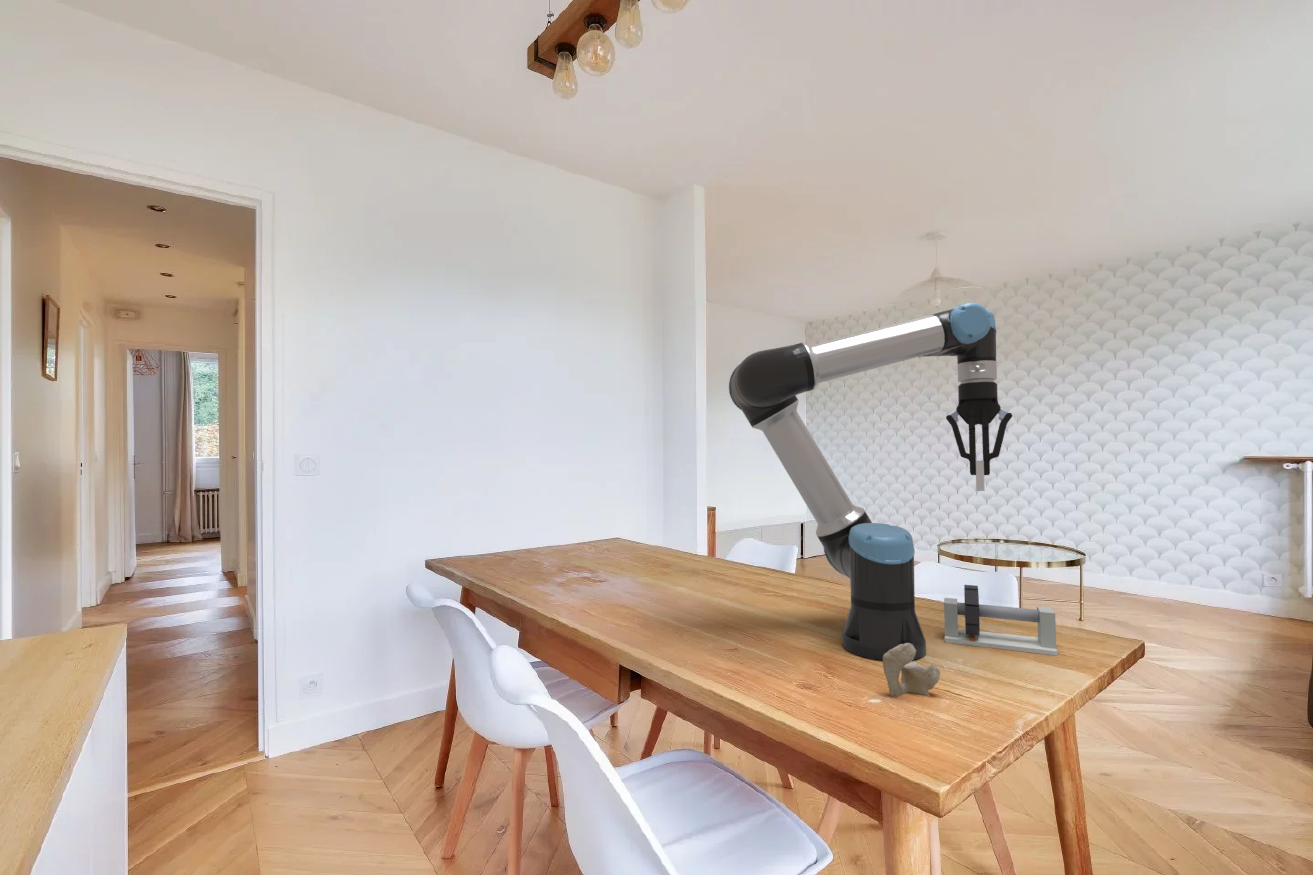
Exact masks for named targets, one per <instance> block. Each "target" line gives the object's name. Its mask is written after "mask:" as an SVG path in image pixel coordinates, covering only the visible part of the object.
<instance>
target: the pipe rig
mask: <svg viewBox="0 0 1313 875" xmlns="http://www.w3.org/2000/svg"><path fill="white" fill-rule="evenodd" d="M943 614H944V615H943V616H944V617H943V620H944V643H948V644H956V645H957V644H958V645H966V646H974V647H982V648H991V649H997V650H998V649H999V650H1006V651H1007V650H1008V651H1015V652H1024V653H1025V652H1026V653H1031V654H1032V653H1034V654H1040V655H1049V656H1059V654H1058V653H1059V652H1058V649H1057V630H1056V627H1057V626H1056V622H1057V621H1056V612H1055V611H1054V609H1053V607H1052V606H1043V605H1042V606H1040V605H1037V606H1036V609H1035V608H1024V607H1015V606H1014V607H1012V606H1001V605H989V604H980V603H979V618H991V619H999V620H1008V621H1019V622H1030V623H1037V637H1035V636H1029V635H1027V636H1026V635H1018V634H1009V633H999V632H998V633H997V632H991V631H981V630H980V634H979V636H977V635H969V634H966V629H964V628H959V619H958V615H960V616H965V602H958V598H951V597H944V598H943Z"/></svg>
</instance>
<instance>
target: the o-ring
mask: <svg viewBox="0 0 1313 875" xmlns="http://www.w3.org/2000/svg"><path fill="white" fill-rule="evenodd" d="M963 587H964V589H963V592H964V596H963V597H964V603H965V615H964V624H965V629H964V630H966V634H969V635H977V636H979V634H980V631H981V630H980V624H981V623H980V622H981V621H980V617H979V604H980V599H979V597H980V596H979V595H980V594H979V586H978V585H971V584H964V585H963Z"/></svg>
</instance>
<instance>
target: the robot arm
mask: <svg viewBox="0 0 1313 875" xmlns="http://www.w3.org/2000/svg"><path fill="white" fill-rule="evenodd" d="M921 357H923V358H924V357H957V358H956V359H957V360H956V361H957V382H958V383H960V384H959V385H958V386H957V388H958V389H957V390H958V395H957V396H958V405H957V407H956V410H955V411H954V412H952V413H951V414H948V415H946V416H945V418H946V420H947V422H948V423H949V425H950V426H951V428H952V431H953V432H952V433H953V435H954V438H955V442H956V446H957V448H958V451H959V452H958V453H959V455H960V457H961V458H963V459H966V460H968V461H969V473H970V475H971V476H975V485H976V486H975V488H976V492H985V476H990V474H991V460H993V459H996V458H998V457H1000V453H1001V450H1002V447H1003V446H1002V445H1003V441H1004V438H1005V432H1006V429H1007V425H1008V423H1009V422H1010V420H1011V419H1012V418H1013V414H1012V413H1011V412H1007V411H1005V410H1003V409H1001V408H1002V407H1001V405H1000V403H999V399H998V398H999V397H998V383H997V382H996V380H997V379H998V369H997V366H998V365H997V328H996V319H995V314H994V313H993V312H992V311H991V310H988V309H987V308H986V307H985V306H983V305H982V304H980V303H977V302H967V303H966V302H965V303H963V304H958V305H957V306H955V307H954V308H951V309H947V310H944V311H940V312H937V313H932V314H928V315H924V316H921V317H917V318H913V319H908V320H905V321H901V322H897V323H894V324H890V325H886V326H882V327H878V328H874V329H870V330H867V331H862V332H858V333H855V334H850V335H847V336H842V337H840V338H839V337H838V338H835V339H832V340H827V341H824V342H820V343H816V344H813V345H807V344H806V343H804V342H800V343H796V344H795V343H794V344H791V345H785V346H781V347H776V348H770V349H765V350H759V351H756V352H754V353H753V352H752V353H751V354H749V355H748V356H747V357H746V358H744V359H743V360H742V361H741V363H739V364H738V365H737V366H736V367H735V368H734V370H733V371H732V372H731V375H730V378H729V381H728V393H729V396H730V399H731V400H732V403H733V404H734V406H736V408H738V409H739V410H740V411H741V412H742V413H743V415H744V417H745V418H746V420H747V421H748V423H749V424H750V426H751V428H752V429H756V430H759V431H761V432H763V434H764V437H765V438H766V440H767V441H768V442H769V444H770V446H771V448H772V449H773V451H774V454H776V456H777V458H778V459H779V461H780V463H781V465H782V466H783V468H784V470H785V472H786V473H787V475H788V477H789V478H790V479H791V481H792V483H793V485H794V486H795V488H796V489H797V491H798V493H799V495H800V496H801V499H802V500H803V502H804V504H806V507H807V508H808V510H809V512H810V513H811V515H812V516H813V518H814V520H815V522H816V523H817V526H816V530H815V536H816V537H817V539H818V540H819V542H820V543H821V545H822V547H823V552H824V555H825V558H826V560H827V561H828V563H829V565H830V566H831V567H832V568H833V569H834V570H835V571H836V572H838V573H840V574H841V575H843V576H845V577H846V578H849V579H850V580H849V581H850V584H849V585H850V608H849V611H848V613H847V618H846V621H845V623H844V626H843V630H842V634H841V638H842V639H841V640H842V647H843V648H844V649H845V650H846V651H848V652H850V653H852V654H855V655H858V656H861V657H864V658H867V659H868V658H869V659H872V660H880V661H883V656H884V654H885V653H887V652H888V651H889V650H891V649H892V648H894V647H896V646H898V645H900V644H903V645H904V644H905V643H910V644H912V645H913V646H914V648H915V649H916V655H915V657H914V659H913V661H914V660H918V659H922V658H923V657H925V655H927V641H926V638H925V635H924V633H923V630H922V627H921V624H920V620H919V618H918V616H917V613H916V606H915V604H916V602H915V601H916V600H915V598H916V597H915V596H916V595H915V593H916V592H915V553H916V552H915V547H914V539H913V536H912V534H911V533H910V531H909V530H907V529H906V528H903V527H901V526H898V525H892V524H888V523H879V522H872V520H871V519H870V516H869V515H868V513H867V512H866V510H865V509H864V508H863V507H860V506H857V505H854V504H853V502H852V500H851V499H850V497H849V496H848V494H847V492H846V491H845V489H844V488H843V486H842V484H841V483H840V481H839V479H838V478H837V476H836V474H835V473H834V471H833V469H832V467H831V466H830V465H829V463H828V461H827V459H826V458H825V456H824V454H823V453H822V451H821V449H820V448H819V446H818V444H817V442H816V441H815V438H814V437H813V436H812V434H811V432H810V430H809V429H808V428H807V426H806V424H805V422H804V421H803V419H802V417H801V416H800V414H799V413H798V405H799V402H800V401H799V399H798V397H797V395H800V394H803V393H806V392H810V391H813V390H815V389H816V387H817V385H818V384H820V383H823V382H828V381H831V380H832V381H833V380H836V379H839V378H840V379H841V378H843V377H847V376H850V375H854V374H855V375H856V374H859V373H863V372H866V371H869V370H874V369H879V368H881V367H885V366H889V365H892V364H897V363H900V362H905V361H908V360H912V359H915V358H916V359H917V358H921ZM997 415H998V420H999V421H1000V422H999V425H998V430H997V433H996V437H995V442H994V444H993V450H992V452H991V453H990V430H989V429H990V424H991V423H992V422H993V421H994V419H995V418H996V416H997ZM958 416H959V417H960V418H961V419H962V421H964V422H965V423H966V424H967V425H968V449H969V450H968V451H969V453H968V452H966V448H965V445H964V442H963V441H964V440H963V439H962V435H961V432H960V428H959V426H958V423H957V422H958V421H959V417H958ZM976 425H981V435H982V436H981V441H982V442H981V443H982V446H981V447H982V460H977V450H976V448H977V447H976V446H977V444H976V443H977V442H976Z"/></svg>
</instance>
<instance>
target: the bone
mask: <svg viewBox="0 0 1313 875" xmlns="http://www.w3.org/2000/svg"><path fill="white" fill-rule="evenodd" d="M915 655H916V649H915V648H914V646H913V645H912V644H910V643H905V644H904V645H903V644H900V645H898V646H896V647H894V648H892V649H891V650H889V651H888V652H887V653H885V654H884V656H883V660H882V667H883V668H882V669H883V672H884V676H885V678H886V681H887V686H888V694H889V696H891V697H899V696H902V695H905V694H907V693H916V694H921V695H924V696H927V697H931V694H930V693H929V690H932V689H934V688H935V686H936V685H937V684H938V683H939V681H940V675H941V671H940V669H939V668H938V666H937V665H936V664H934V663H930V665H928V666H926V667H924V666H923V665H921V663H917V662H916V661H914V660H913V659H914V657H915ZM900 673H901V676H900ZM899 677H900V680H901V682H900V681H899Z"/></svg>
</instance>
